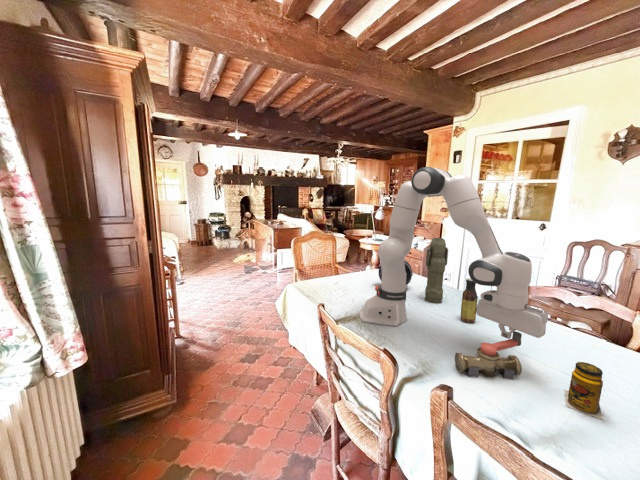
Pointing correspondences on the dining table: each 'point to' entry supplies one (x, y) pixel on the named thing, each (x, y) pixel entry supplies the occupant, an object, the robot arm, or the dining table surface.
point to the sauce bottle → (469, 302)
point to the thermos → (435, 270)
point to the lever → (501, 345)
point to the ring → (407, 269)
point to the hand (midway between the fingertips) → (505, 337)
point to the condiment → (585, 389)
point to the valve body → (488, 365)
